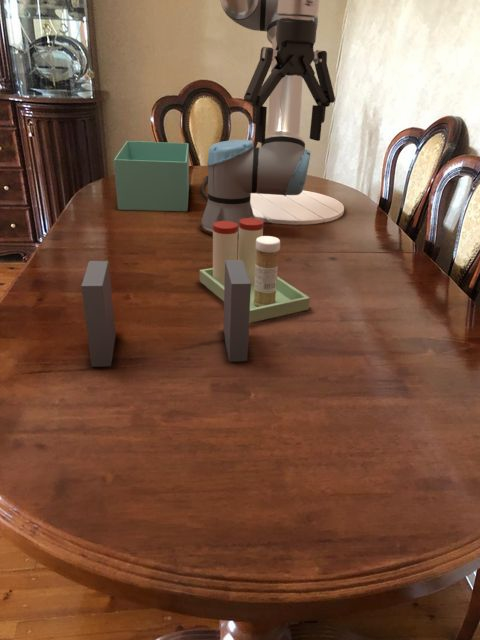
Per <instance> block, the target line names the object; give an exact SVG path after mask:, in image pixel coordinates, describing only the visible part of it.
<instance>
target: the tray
mask: <svg viewBox="0 0 480 640" xmlns="http://www.w3.org/2000/svg"><path fill="white" fill-rule="evenodd" d="M199 282H200V283H201V284H203V285H204V286H205V287H206V288H207V289H208V290H209V291H211V292H212V293H213V294H214V295H215V296H217V297H218V298H219V299H221V300H222V301H223V302H224V286H223V285H222V284H220V283H219V282H218V281H217V280H215V279H214V278H213V267H209V268H204V269H199ZM254 292H255V288H254V285H251V294H250V315H249V324H251V323H256V322H261V321H264V320H268V319H269V320H270V319H274V318H278V317H282V316H287V315H290V314H295V313H298V312H304V311H309V310H310V299H311V297H309V296H308V295H307V294H305V293H303V292H302V291H301V290H299V289H297V288H296V287H295V286H293V285H291V284H290V283H288V282H287V281H286V280H284V279H282V278H281V277H279V276H278V275H277V287H276V297H275V301H276V303H274V304H270V305H265V306H260V307H258V306H256V305H255V304H254V302H253V301H254Z"/></svg>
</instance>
